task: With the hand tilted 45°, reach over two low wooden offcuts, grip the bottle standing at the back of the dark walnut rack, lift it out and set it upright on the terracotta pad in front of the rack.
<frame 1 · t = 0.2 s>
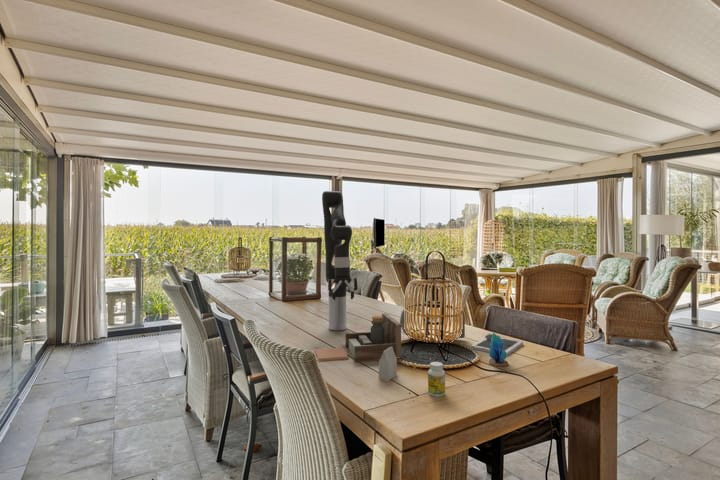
hand: (343, 299, 194), 18 cm above the table, tool pointing down, fingers open, 8 cm apart
bottle: (377, 352, 169), resting in walnut rack
terracotta pad: (331, 355, 165), on the table
supplement bottle: (436, 394, 127), on the table
walnut rack: (377, 351, 169), on the table
picture frame: (497, 348, 177), on the table
gemstone: (498, 364, 154), on the table
sage offcut: (355, 354, 167), resting in walnut rack
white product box: (387, 377, 141), on the table
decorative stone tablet: (431, 339, 188), on the table
charcoal offcut: (364, 353, 168), resting in walnut rack
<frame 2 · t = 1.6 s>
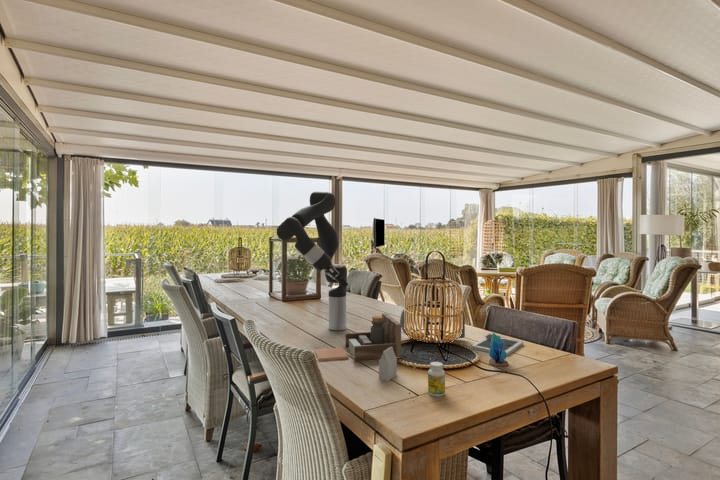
hand: (344, 284, 165), 29 cm above the table, tool tilted 45°, fingers open, 8 cm apart
nothing on the table moved.
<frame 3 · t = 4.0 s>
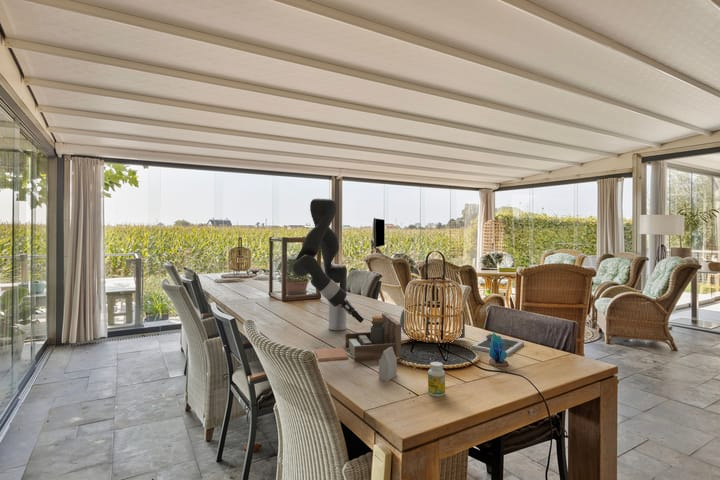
hand: (359, 318, 167), 15 cm above the table, tool tilted 45°, fingers open, 8 cm apart
nothing on the table moved.
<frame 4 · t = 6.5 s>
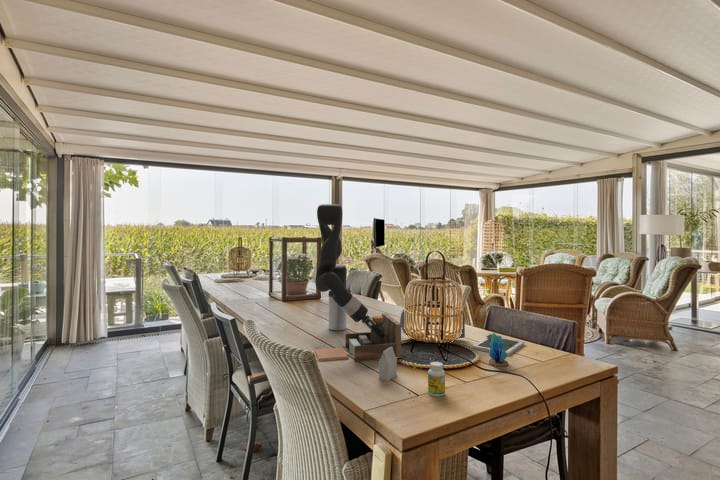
hand: (381, 334, 169), 7 cm above the table, tool tilted 45°, fingers closed on bottle, 5 cm apart
bottle: (377, 352, 169), resting in walnut rack, touching gripper
everything else where it was.
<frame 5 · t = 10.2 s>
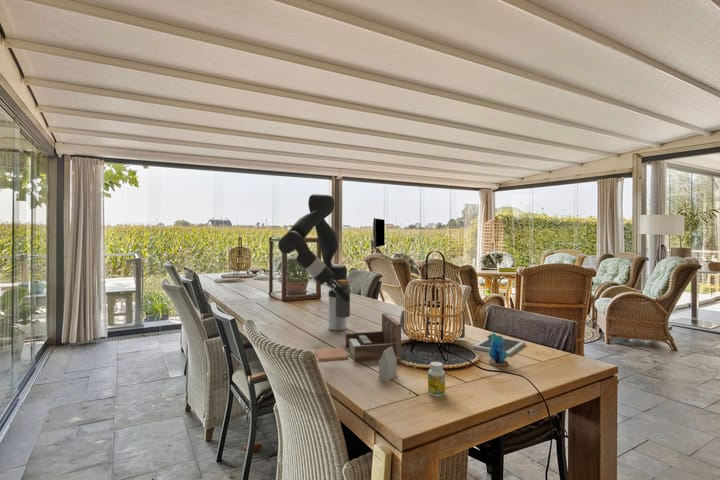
hand: (346, 298, 165), 23 cm above the table, tool tilted 45°, fingers closed on bottle, 5 cm apart
bottle: (342, 316, 165), point 16 cm above the table, touching gripper
everything else where it was.
when the fingers open (9 cm above the table, at t = 13.9 s): bottle stays where it is, resting on terracotta pad.
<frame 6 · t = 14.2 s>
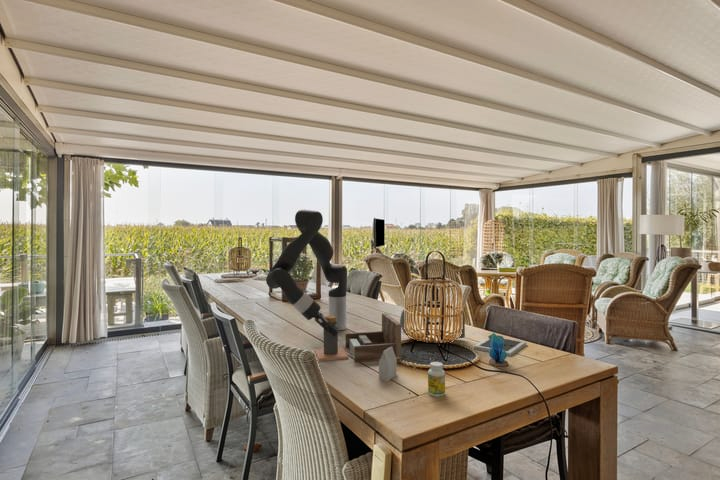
hand: (334, 332, 165), 10 cm above the table, tool tilted 45°, fingers open, 8 cm apart
bottle: (330, 353, 165), point 1 cm above the table, touching terracotta pad
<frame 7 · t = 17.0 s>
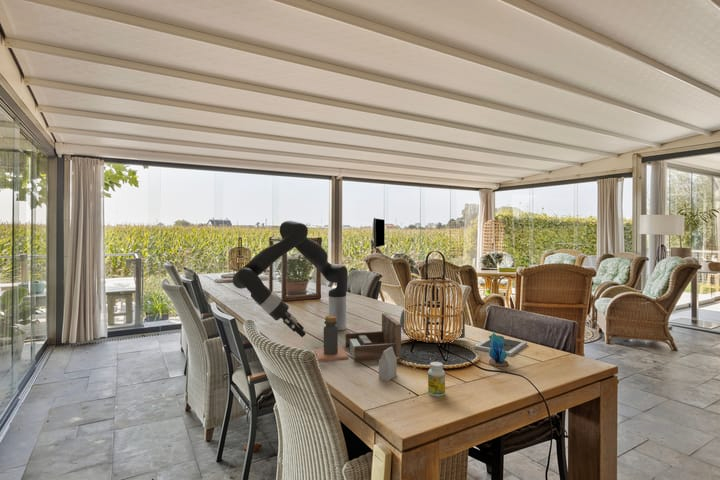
hand: (303, 332, 162), 10 cm above the table, tool tilted 45°, fingers open, 8 cm apart
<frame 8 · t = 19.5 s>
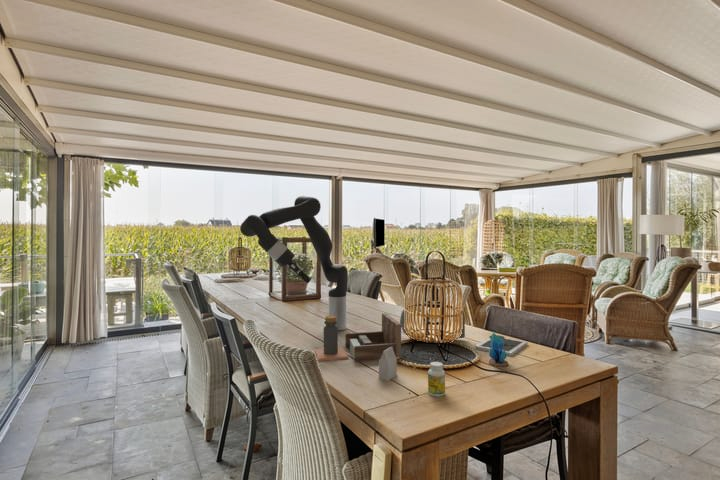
hand: (308, 280, 169), 31 cm above the table, tool tilted 45°, fingers open, 8 cm apart
at the end: bottle inside the target area on the terracotta pad (0.2 cm from its centre), point 0.8 cm above the terracotta pad's base; bottle tilted 0°; charcoal offcut moved 0.2 cm from its start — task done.
